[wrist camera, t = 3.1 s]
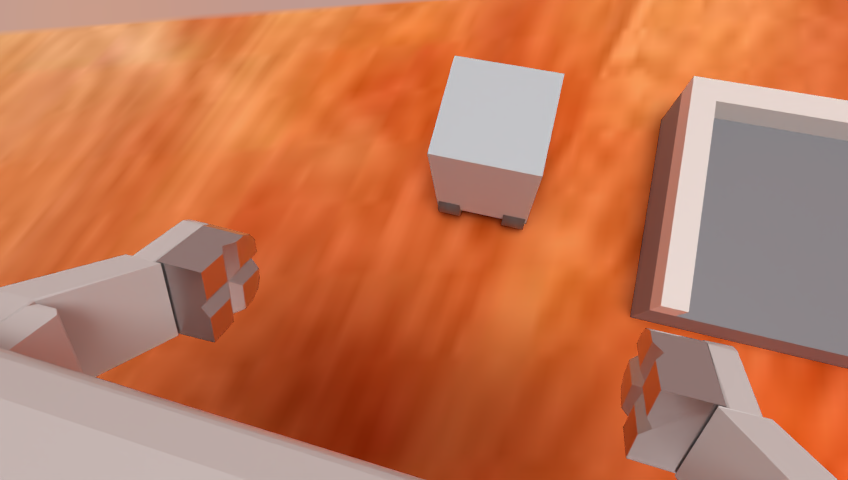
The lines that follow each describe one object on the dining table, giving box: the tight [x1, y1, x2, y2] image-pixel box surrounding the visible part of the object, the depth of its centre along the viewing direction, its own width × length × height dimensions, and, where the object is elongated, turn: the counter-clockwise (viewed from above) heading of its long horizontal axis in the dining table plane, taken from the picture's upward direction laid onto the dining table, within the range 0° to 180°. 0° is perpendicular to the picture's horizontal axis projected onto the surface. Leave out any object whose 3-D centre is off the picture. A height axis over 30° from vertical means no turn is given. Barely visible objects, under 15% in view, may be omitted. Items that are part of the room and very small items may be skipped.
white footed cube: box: [427, 56, 564, 229], centre depth 26 cm, size 5×6×8 cm
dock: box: [630, 76, 848, 368], centre depth 25 cm, size 14×12×4 cm
